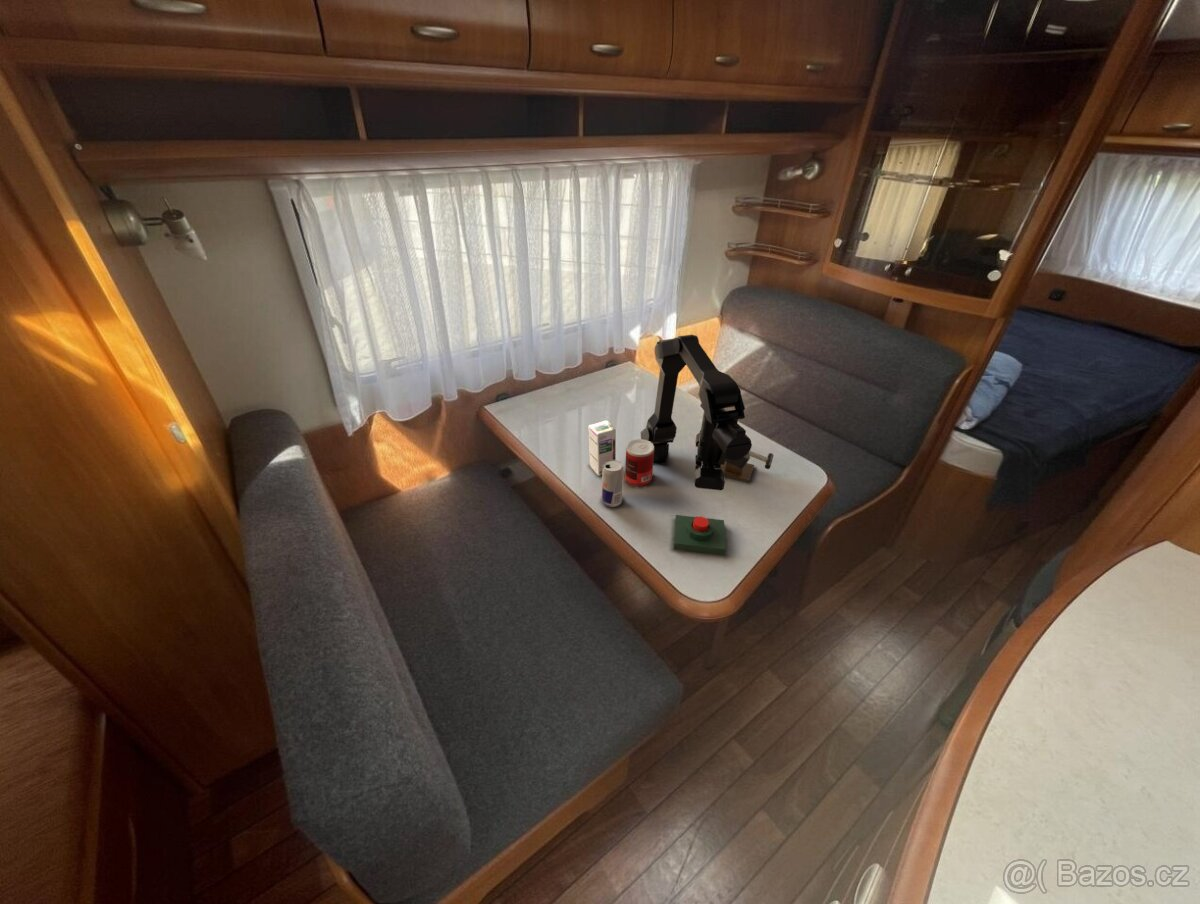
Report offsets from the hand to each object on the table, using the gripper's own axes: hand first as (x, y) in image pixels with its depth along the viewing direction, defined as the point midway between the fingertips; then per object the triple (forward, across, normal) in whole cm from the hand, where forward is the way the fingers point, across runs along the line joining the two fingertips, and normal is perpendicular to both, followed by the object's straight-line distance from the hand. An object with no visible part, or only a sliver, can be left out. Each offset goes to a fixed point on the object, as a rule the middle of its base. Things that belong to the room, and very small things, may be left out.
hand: (704, 487), depth 115 cm
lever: (+6, +23, -14) cm, 27 cm away
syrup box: (+12, +19, +28) cm, 36 cm away
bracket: (+12, +24, -10) cm, 29 cm away
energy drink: (+12, +5, +23) cm, 26 cm away
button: (+8, -5, 0) cm, 10 cm away
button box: (+12, -5, 0) cm, 13 cm away
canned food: (+12, +16, +17) cm, 26 cm away
